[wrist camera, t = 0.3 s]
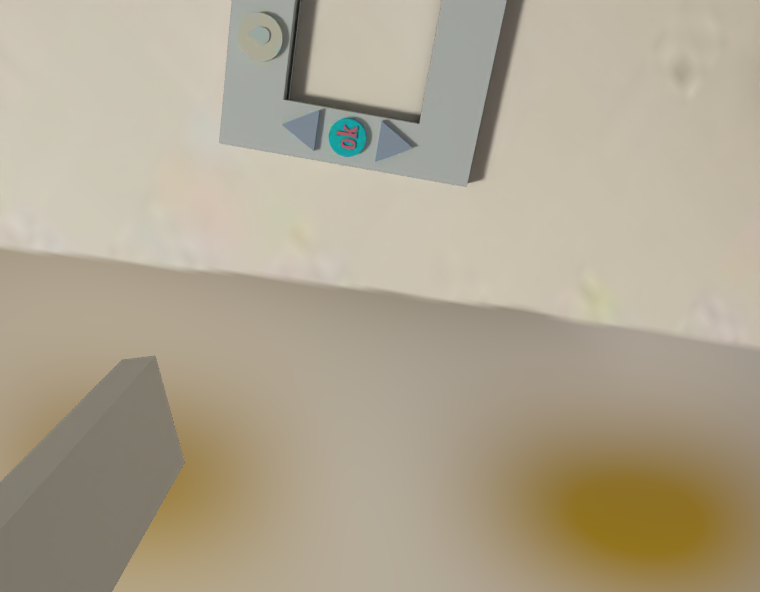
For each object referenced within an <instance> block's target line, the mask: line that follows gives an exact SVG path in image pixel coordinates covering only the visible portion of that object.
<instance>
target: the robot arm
mask: <svg viewBox="0 0 760 592" xmlns="http://www.w3.org/2000/svg"><path fill="white" fill-rule="evenodd" d="M184 463H185V461H184V458H183V454H182V451H181V447H180V443H179V440H178V437H177V433H176V429H175V425H174V422H173V418H172V414H171V411H170V407H169V404H168V400H167V396H166V393H165V389H164V385H163V382H162V378H161V374H160V371H159V367H158V364H157V360H156V357H155V356H148V357H141V358H132V359H124V360H121V361H120V362H119V363H118V364H117V365H116V366H115V367H114V368H113V370H111V371H110V372H109V373H108V375H106V376H105V377H104V378H103V379H102V381H100V382H99V384H98V385H96V386H95V387H94V388H93V390H91V392H89V393H88V394H87V396H85V398H84V399H82V400H81V401H80V403H78V405H77V406H76V407H75V408H74V409H72V411H71V412H70V413H69V414H68V415H67V416H66V417H65V418H64V419H63V420H62V421H61V422H60V423H59V424H58V425H57V426H56V427H55V428H54V429H53V430H52V431H51V432H50V433H49V434H48V435H47V436H46V437H45V438H44V439H43V440H42V441H41V442H40V443H39V444H38V445H37V446H36V447H35V448H34V449H33V450H32V451H31V452H30V453H29V454H28V455H27V456H26V457H25V458H24V459H23V460H22V461H21V462H20V463H19V464H18V465H17V466H16V467H15V468H14V469H13V470H12V471H11V472H10V473H9V474H8V475H7V476H6V477H5V478H4V479H3V480H2V481H1V482H0V592H112V591H113V589H114V587H115V585H116V584H117V582H118V580H119V578H120V577H121V575H122V573H123V571H124V570H125V568H126V566H127V564H128V562H129V561H130V559H131V557H132V555H133V553H134V552H135V550H136V548H137V547H138V545H139V543H140V541H141V539H142V538H143V536H144V534H145V532H146V531H147V529H148V527H149V525H150V523H151V522H152V520H153V518H154V516H155V515H156V513H157V511H158V509H159V507H160V505H161V504H162V502H163V500H164V499H165V497H166V495H167V493H168V492H169V490H170V488H171V486H172V485H173V483H174V481H175V479H176V477H177V476H178V474H179V472H180V470H181V469H182V467H183V465H184Z"/></svg>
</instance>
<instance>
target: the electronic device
mask: <svg viewBox="0 0 760 592" xmlns="http://www.w3.org/2000/svg"><path fill="white" fill-rule="evenodd" d="M506 1H507V0H442V2H441V8H440V13H439V19H438V24H437V30H436V35H435V40H434V46H433V51H432V57H431V62H430V67H429V73H428V78H427V84H426V89H425V94H424V100H423V105H422V111H421V116H420V122H419V123H417V122H411V121H405V120H400V119H394V118H389V117H383V116H378V115H372V114H366V113H361V112H355V111H350V110H344V109H339V108H333V107H327V106H322V105H316V104H311V103H305V102H300V101H294V100H290V93H291V84H292V76H293V68H294V60H295V51H296V43H297V35H298V26H299V18H300V10H301V2H302V0H300V7H299V16H298V24H297V32H296V41H295V49H294V58H293V66H292V74H291V83H290V91H289V99H287V92H288V83H289V75H290V67H291V58H292V50H293V42H294V33H295V25H296V16H297V8H298V0H232V3H231V14H230V26H229V37H228V49H227V60H226V71H225V83H224V94H223V105H222V117H221V128H220V139H219V143H221V144H226V145H232V146H238V147H243V148H249V149H255V150H260V151H266V152H272V153H277V154H283V155H288V156H294V157H300V158H305V159H311V160H317V161H322V162H328V163H334V164H339V165H345V166H351V167H356V168H362V169H367V170H373V171H379V172H384V173H390V174H396V175H401V176H407V177H413V178H418V179H424V180H430V181H435V182H441V183H447V184H452V185H458V186H463V187H467V183H468V178H469V174H470V169H471V164H472V160H473V155H474V150H475V146H476V141H477V136H478V132H479V127H480V122H481V118H482V113H483V108H484V104H485V99H486V95H487V90H488V85H489V81H490V76H491V71H492V67H493V62H494V57H495V53H496V48H497V43H498V39H499V34H500V29H501V25H502V20H503V15H504V11H505V6H506Z"/></svg>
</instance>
